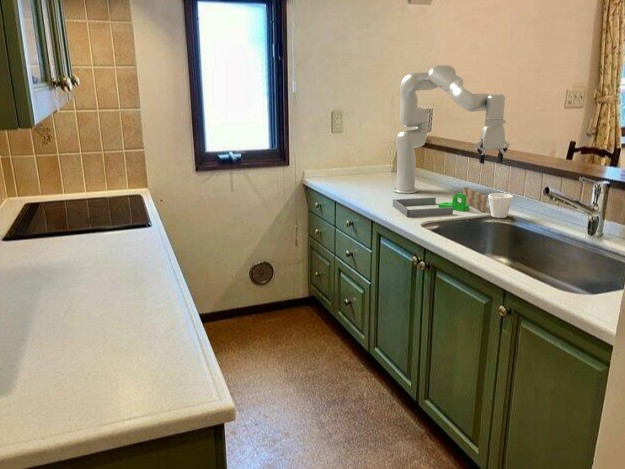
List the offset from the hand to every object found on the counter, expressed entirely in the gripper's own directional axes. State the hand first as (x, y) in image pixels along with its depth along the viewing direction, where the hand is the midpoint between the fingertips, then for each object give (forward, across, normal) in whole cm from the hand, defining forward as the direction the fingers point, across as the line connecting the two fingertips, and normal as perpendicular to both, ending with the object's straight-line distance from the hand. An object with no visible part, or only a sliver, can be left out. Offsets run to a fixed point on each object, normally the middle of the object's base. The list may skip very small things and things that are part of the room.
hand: (490, 162), depth 237 cm
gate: (+20, +7, 0) cm, 21 cm away
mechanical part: (+20, +17, +1) cm, 26 cm away
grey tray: (+20, +31, 0) cm, 37 cm away
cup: (+20, +4, +18) cm, 28 cm away
